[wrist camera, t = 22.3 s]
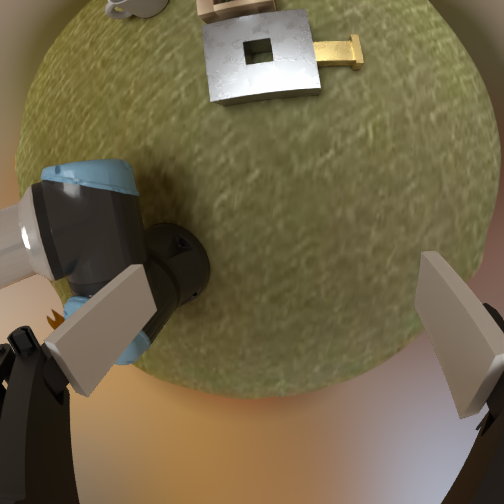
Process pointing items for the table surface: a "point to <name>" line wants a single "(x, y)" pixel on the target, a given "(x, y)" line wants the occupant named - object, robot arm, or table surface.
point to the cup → (135, 8)
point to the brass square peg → (339, 53)
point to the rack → (232, 9)
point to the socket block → (261, 74)
